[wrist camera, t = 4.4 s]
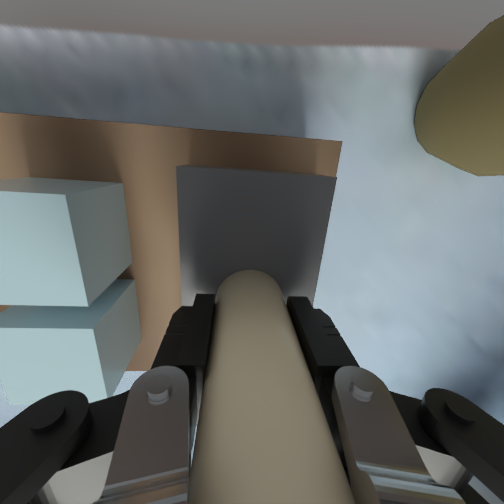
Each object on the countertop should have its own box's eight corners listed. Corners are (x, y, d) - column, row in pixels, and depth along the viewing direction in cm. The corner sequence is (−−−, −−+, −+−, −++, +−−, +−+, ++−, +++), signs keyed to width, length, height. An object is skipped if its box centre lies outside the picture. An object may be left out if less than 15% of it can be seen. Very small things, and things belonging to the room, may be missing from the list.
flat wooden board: (306, 147, 16) (342, 141, 11) (282, 315, 21) (299, 370, 16) (-43, 119, 15) (-216, 94, 9) (20, 311, 20) (-66, 371, 14)
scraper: (316, 173, 11) (815, 256, 2) (287, 352, 15) (380, 694, 6) (188, 164, 11) (-238, 205, 1) (193, 352, 15) (110, 729, 5)
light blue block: (134, 279, 13) (93, 328, 9) (141, 339, 14) (108, 403, 10) (54, 277, 12) (-23, 327, 9) (70, 338, 14) (9, 404, 10)
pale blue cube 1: (122, 183, 11) (65, 194, 7) (132, 262, 12) (88, 306, 9) (29, 177, 11) (-83, 186, 7) (50, 259, 12) (-33, 304, 8)
